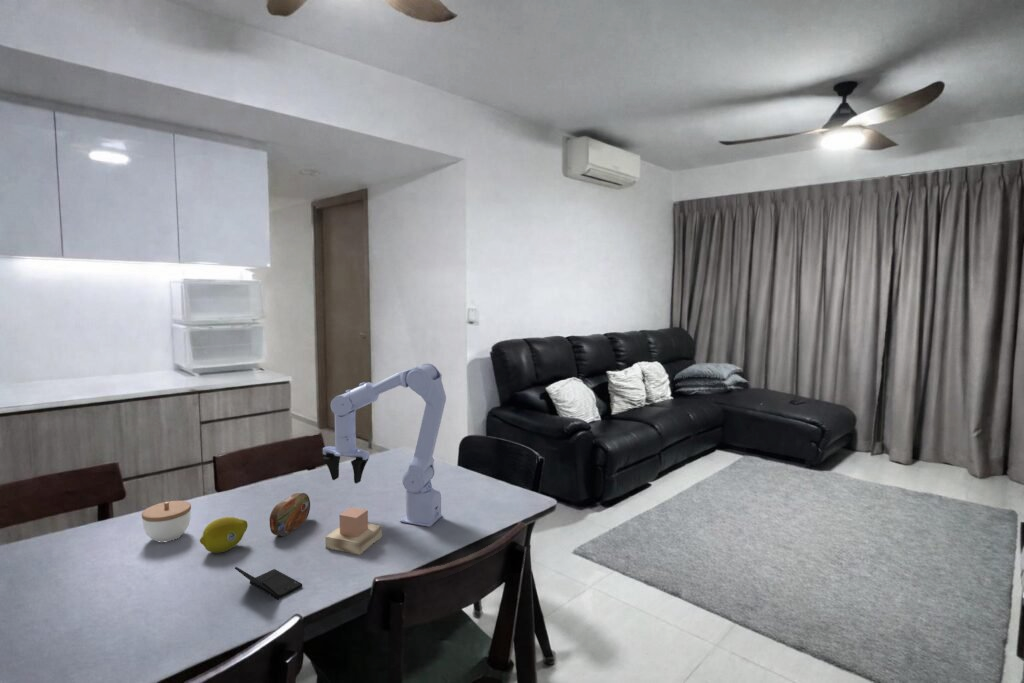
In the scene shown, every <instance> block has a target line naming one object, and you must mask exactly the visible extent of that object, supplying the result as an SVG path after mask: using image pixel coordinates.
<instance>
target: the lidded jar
mask: <svg viewBox="0 0 1024 683" xmlns="http://www.w3.org/2000/svg"><path fill="white" fill-rule="evenodd" d="M191 509H192V505H191V502H189V501H185V500H171V501H163V502H159V503H157V504H154V505H151V506H149V507H146V508H145V509H144V510H143V511H142V512H141V519H142V525H143V529H144V531H145V534H146V536H148V537H149V539H151V540H153V541H154V540H155V541H160V542H164V541H170V540H173V541H175V540H174V539H176V540H178V539H179V537H180V536H181V535H182V536H183V534H184V533H185V532H186V531H187V529H188V528H189V526H190V523H191V517H192V516H191V515H192V514H191V513H192V512H191V511H192V510H191ZM182 536H181V537H182ZM181 537H180V538H181ZM177 538H178V539H177ZM155 541H154V542H155ZM170 542H171V541H170Z"/></svg>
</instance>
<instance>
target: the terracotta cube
mask: <svg viewBox="0 0 1024 683" xmlns="http://www.w3.org/2000/svg"><path fill="white" fill-rule="evenodd" d="M368 523H369V510H368V509H365V508H364V509H363V508H359V507H353V506H352V507H351V506H350V507H349V508H348V509H345V511H343V512H342V513H340V514H339V527H340V534H344V535H349V536H354V537H357V536H359V535H360V534H361V533H363V532H364V531H365V530H367V529H368Z"/></svg>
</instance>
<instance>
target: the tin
mask: <svg viewBox="0 0 1024 683" xmlns="http://www.w3.org/2000/svg"><path fill="white" fill-rule="evenodd" d="M310 511H311V500H310V496H309V495H308V494H307V493H306V492H302V493H299V492H296V493H295V492H294V493H292V494H291V495H290V496H287V498H285V499H284V500H282V501H280V502H279V503H278V504H276V505H275V506H274V507H273V509H272V511H271V512H270V515H269V529H270V532H271V533H272V534H273V535H274V536H281V537H286V536H288V535H290V534H291V533H292V532H294V531H295V530H296V529H298V528H299V527H300V526H301V525H302V524H304V523H305V522H306V520H307V519H308V518H309V517H308V516H309V514H310ZM295 528H296V529H295ZM290 532H291V533H290ZM287 534H288V535H287Z"/></svg>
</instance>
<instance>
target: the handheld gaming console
mask: <svg viewBox="0 0 1024 683" xmlns="http://www.w3.org/2000/svg"><path fill="white" fill-rule="evenodd" d="M234 570H236V571H237V572H239V573H240V574H242V576H244V577H245V578H246V579H247V580H249V584H251V585H252V586H254V587H256V588H257V589H259V590H260V591H262V592H264V593H265V594H267V595H270V596H271V597H273V598H274V599H275V600H277V601H279V600H281V599H282V598H285V597H287V596H288V595H290V594H292V593H294V592H296V591H298V590H300V589H302V588H303V583H301V582H299V581H298V580H296V579H294V578H292V577H291V576H288V575H287V574H286V573H284V572H281V571H279V570H277V569H275V568H273V569H271V570H269V571H267V572H264V573H263V574H260V575H258V576H256V577H254V575H251V574H249V573H248V572H246V571H245V570H243V569H240V568H239V567H237V566H235V567H234Z"/></svg>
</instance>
